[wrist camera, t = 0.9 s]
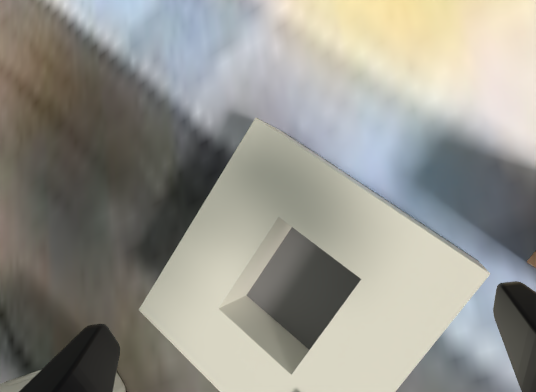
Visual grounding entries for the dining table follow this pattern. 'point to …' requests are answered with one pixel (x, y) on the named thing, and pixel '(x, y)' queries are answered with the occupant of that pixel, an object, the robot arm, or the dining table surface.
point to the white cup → (12, 387)
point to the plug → (532, 260)
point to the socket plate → (306, 278)
